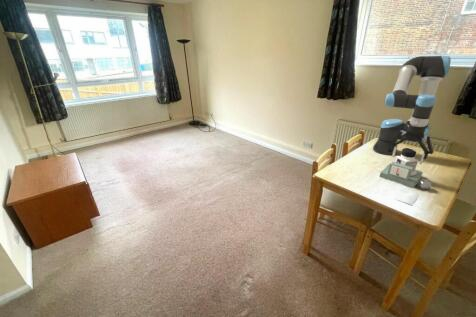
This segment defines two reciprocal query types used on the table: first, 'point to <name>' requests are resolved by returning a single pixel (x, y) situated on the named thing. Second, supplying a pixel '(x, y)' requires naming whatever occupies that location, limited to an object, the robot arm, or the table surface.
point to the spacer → (424, 184)
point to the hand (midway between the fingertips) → (406, 159)
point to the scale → (401, 174)
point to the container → (407, 158)
